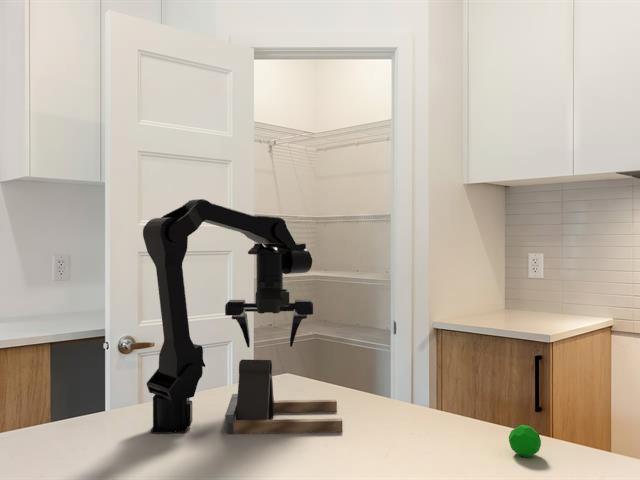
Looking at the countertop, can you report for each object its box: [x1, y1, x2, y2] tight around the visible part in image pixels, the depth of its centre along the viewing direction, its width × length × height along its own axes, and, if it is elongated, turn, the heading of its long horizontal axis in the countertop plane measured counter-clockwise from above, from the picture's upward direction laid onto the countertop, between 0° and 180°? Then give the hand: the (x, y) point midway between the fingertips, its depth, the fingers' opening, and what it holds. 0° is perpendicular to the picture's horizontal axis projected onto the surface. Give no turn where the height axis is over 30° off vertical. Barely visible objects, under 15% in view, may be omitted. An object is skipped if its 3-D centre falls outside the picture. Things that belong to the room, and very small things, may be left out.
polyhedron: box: [508, 424, 542, 458], centre depth 96 cm, size 5×5×5 cm
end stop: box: [224, 393, 238, 435], centre depth 113 cm, size 2×14×4 cm, turn 3°
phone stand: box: [236, 359, 276, 420], centre depth 114 cm, size 9×6×12 cm, turn 174°
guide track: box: [227, 399, 343, 435], centre depth 114 cm, size 21×14×2 cm, turn 93°
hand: (269, 346), depth 127 cm, fingers open, 9 cm apart
